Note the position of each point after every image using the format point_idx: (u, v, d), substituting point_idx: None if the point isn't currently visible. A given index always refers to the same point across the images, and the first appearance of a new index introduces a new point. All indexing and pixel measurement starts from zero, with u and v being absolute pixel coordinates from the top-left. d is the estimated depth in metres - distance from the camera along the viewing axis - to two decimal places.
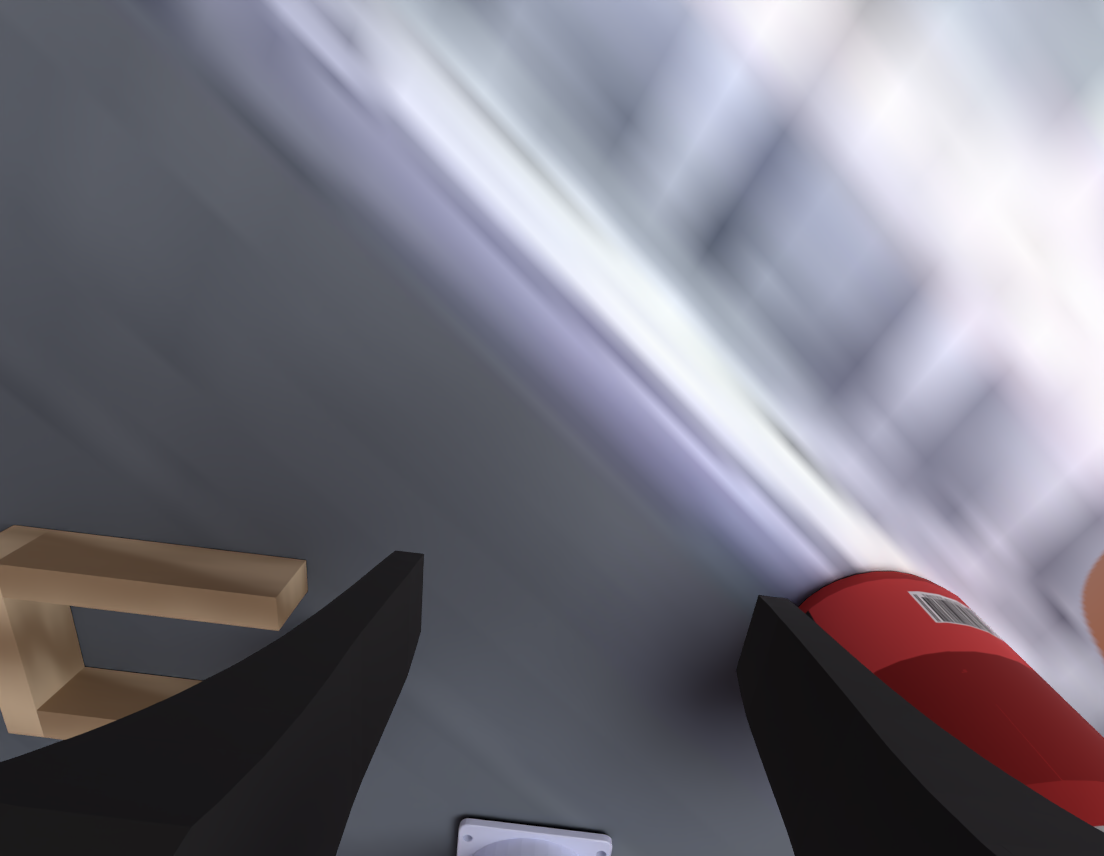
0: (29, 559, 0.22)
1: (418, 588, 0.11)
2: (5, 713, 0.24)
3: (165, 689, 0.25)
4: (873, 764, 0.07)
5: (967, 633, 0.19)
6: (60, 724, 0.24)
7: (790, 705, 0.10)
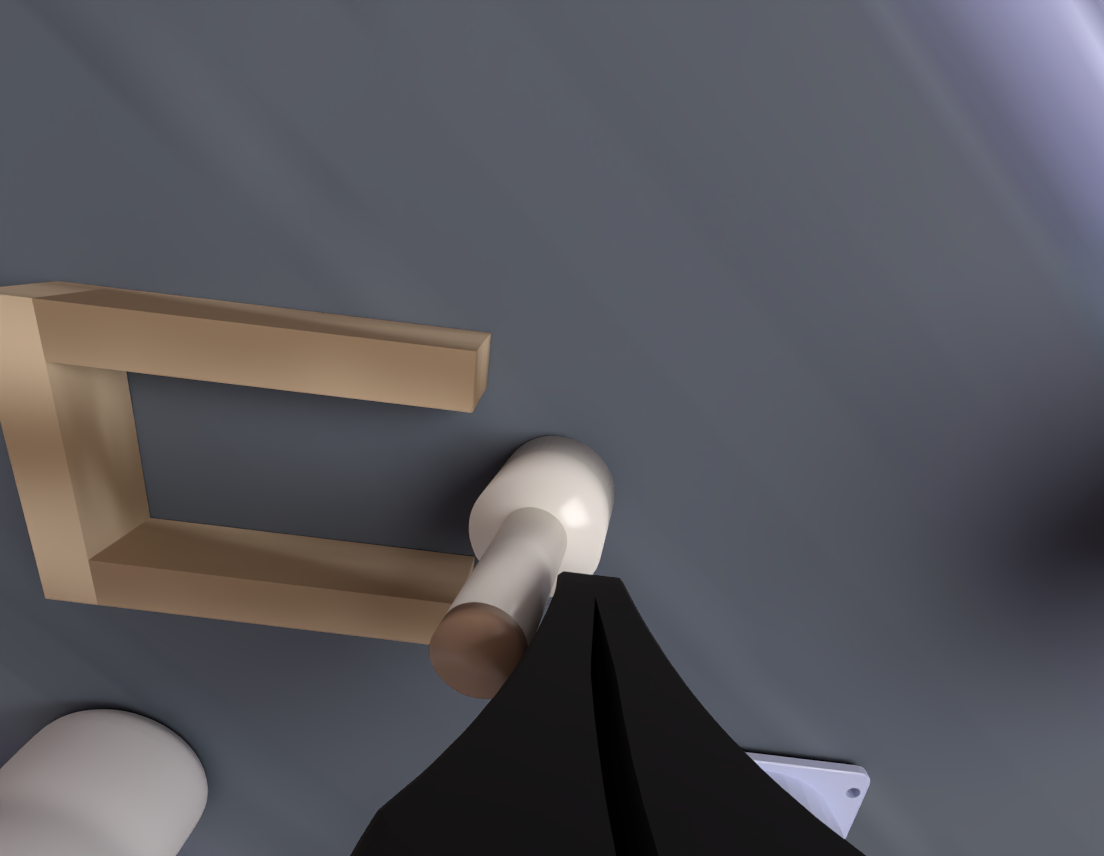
0: (87, 300, 0.14)
1: None
2: (42, 565, 0.16)
3: (268, 544, 0.18)
4: (617, 733, 0.07)
5: None
6: (122, 583, 0.16)
7: (593, 681, 0.10)
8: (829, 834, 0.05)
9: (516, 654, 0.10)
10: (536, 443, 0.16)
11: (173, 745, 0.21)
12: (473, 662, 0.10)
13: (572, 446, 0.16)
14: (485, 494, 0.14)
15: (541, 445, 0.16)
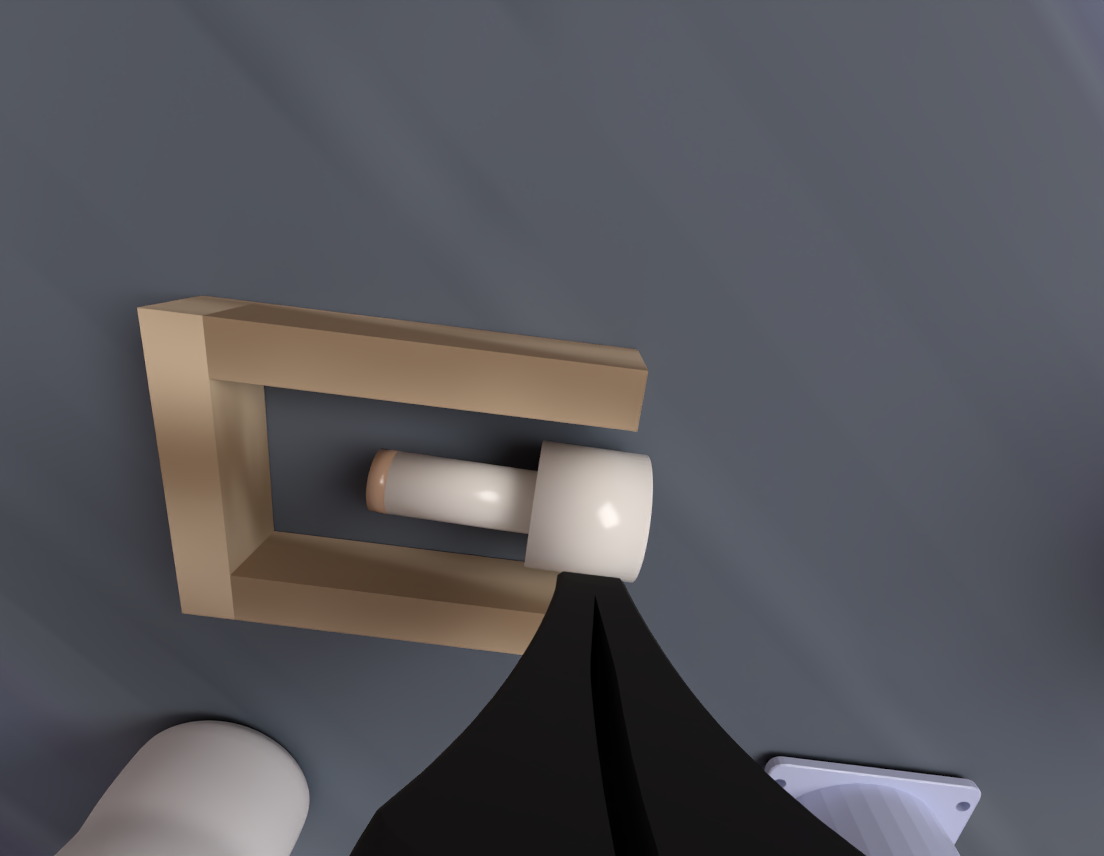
0: (252, 317, 0.14)
1: None
2: (183, 580, 0.16)
3: (397, 558, 0.18)
4: (617, 733, 0.07)
5: None
6: (262, 598, 0.16)
7: (594, 681, 0.10)
8: (830, 834, 0.05)
9: (368, 477, 0.15)
10: (625, 452, 0.16)
11: (280, 757, 0.21)
12: None
13: (629, 460, 0.15)
14: None
15: (618, 451, 0.16)
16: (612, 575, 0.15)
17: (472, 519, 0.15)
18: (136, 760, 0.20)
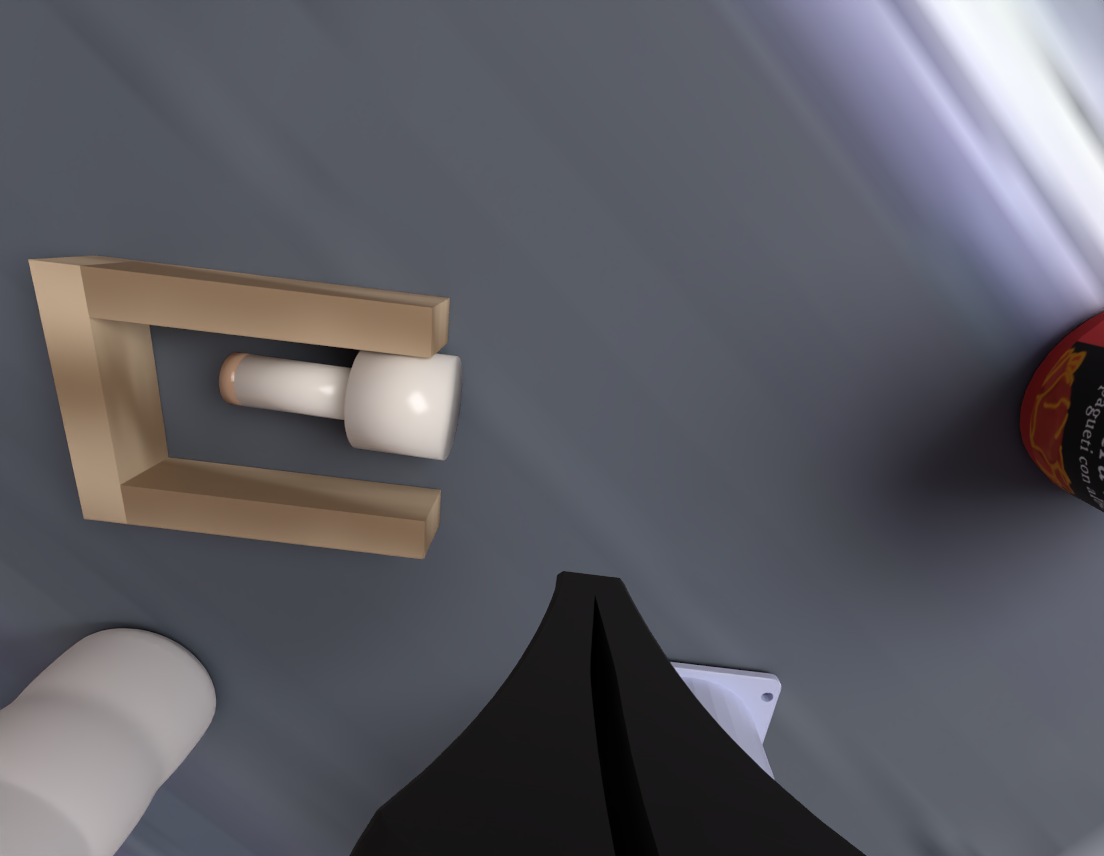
0: (122, 268, 0.17)
1: None
2: (82, 490, 0.20)
3: (267, 477, 0.21)
4: (617, 733, 0.07)
5: None
6: (148, 504, 0.20)
7: (594, 681, 0.10)
8: (830, 835, 0.05)
9: (226, 359, 0.18)
10: None
11: (186, 658, 0.25)
12: None
13: (442, 355, 0.19)
14: None
15: None
16: (419, 427, 0.17)
17: (307, 393, 0.18)
18: (59, 657, 0.23)
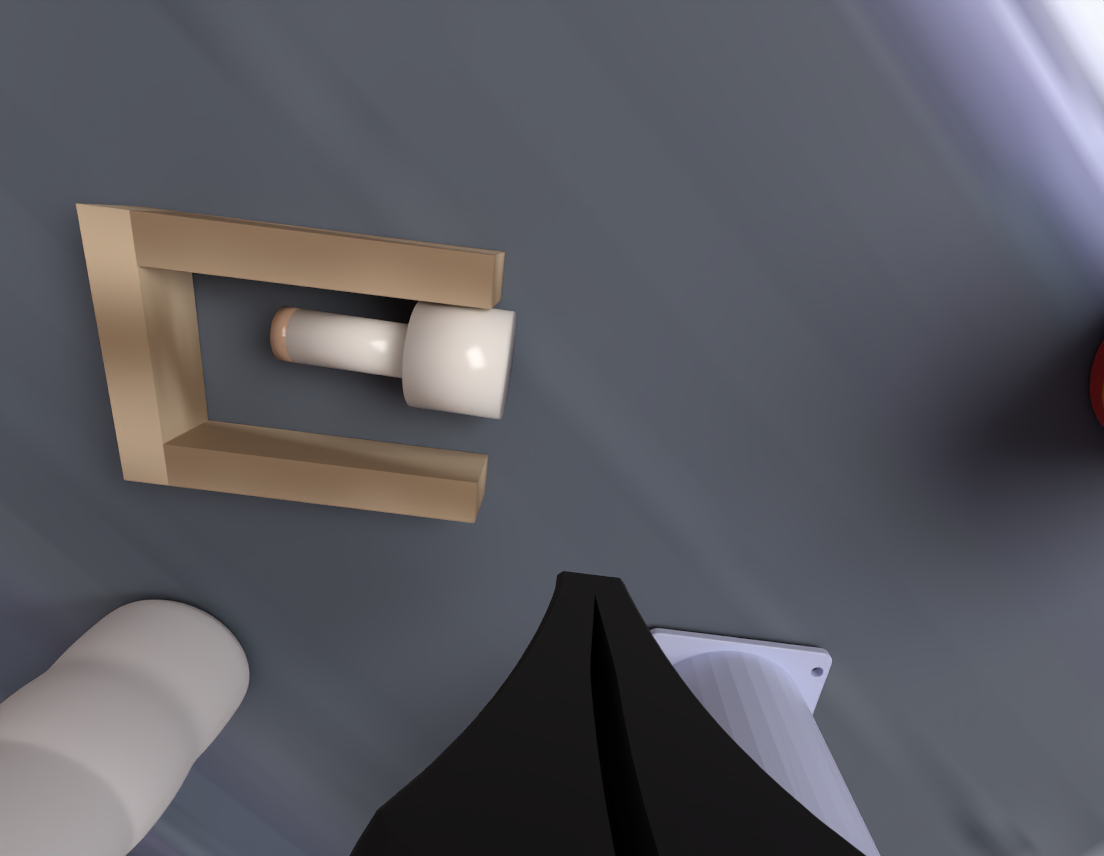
0: (172, 214, 0.17)
1: None
2: (123, 449, 0.19)
3: (311, 440, 0.21)
4: (618, 733, 0.07)
5: None
6: (191, 465, 0.19)
7: (594, 681, 0.10)
8: (830, 834, 0.05)
9: (276, 313, 0.18)
10: None
11: (221, 630, 0.24)
12: None
13: None
14: None
15: None
16: (479, 382, 0.17)
17: (361, 348, 0.17)
18: (92, 627, 0.23)
